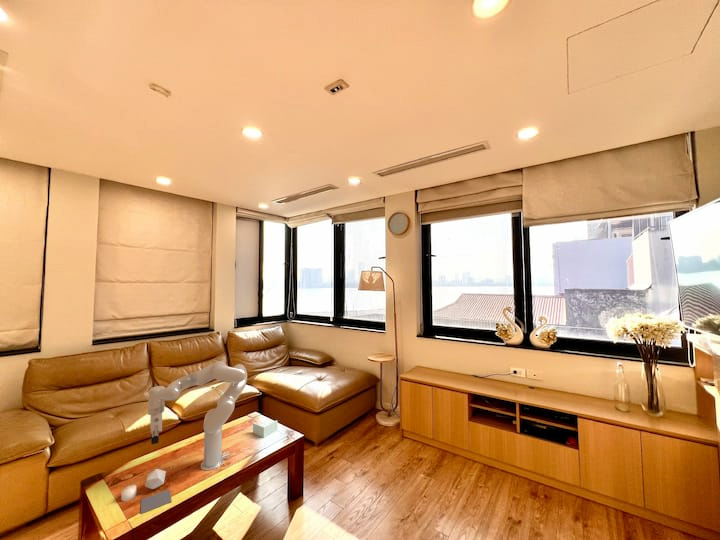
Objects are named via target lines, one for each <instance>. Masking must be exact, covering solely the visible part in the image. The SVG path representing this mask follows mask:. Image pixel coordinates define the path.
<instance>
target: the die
mask: <svg viewBox="0 0 720 540" xmlns="http://www.w3.org/2000/svg"><path fill="white" fill-rule="evenodd" d="M166 473H167V471H166V470H163V469H159V468H155V469H154V470H152V471H150V472H149V473H147V477H146V480H145V485H144V487H146V488H148V489H150V490H155V489H158V488H159V487H161V486H162V485H164V483H165V479H166Z"/></svg>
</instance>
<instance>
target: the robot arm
mask: <svg viewBox="0 0 720 540" xmlns="http://www.w3.org/2000/svg"><path fill="white" fill-rule="evenodd" d="M214 379H215V380H218V381H221V382H222V381H223V382H227V383H230V384H229V386H228V387H227V389H226V390H225V391H224V393H223V394H222V395H221V396H220V397H219V398H218V400H217V406H216V407H215V408H211V409H210V410H208V411H207V413H206V414H205V416H204V421H203V430H204V432H203V433H204V434H203V461H202V462H201V463H200V469H201V470H202V471H214V470H216V469H218V468H220V467H221V466H222V465H223V464H224V463H225V458H228V457H230V456H231V452H228V451H225V452H223V450H222V449H223V448H222V447H223V444H222V443H223V442H222V441H223V438H222V437H223V426H224V425H225V423H226V422H227V420H228V419H229V418H230V417H231V415H232V414H233V412H234V410H235V405H236V404H235V403H236V401H237V400H238V399H239V397H240V396H241V393H242V392H243V391H244V389H245V388H246V385H247V382H248V371H247V368H246V367H245V365H243V364H241V363H238V364H235V365H234V366H233V367H232V366H228V365H227V364H226V362H225V361H222V360H218V361H216V362H215V361H214V363H211V364H210V365H207V366H205V367H204V368H201V369H199V370H197V371H195V372H192V373H189V374H186V375H184V376H182V377H179V378H177V379H176V380H173V381H171V383H169V384H168V386H167V387H165V386H164V385H157V386H153V387H150V389H149V390H148V400H147V401H148V404H147V405H148V406H147V410H148V411H147V415H149V416H150V418H149V419H150V420H149V421H150V423H149V424H150V426H149V427H150V433H151V441H150V442H151V443H150V444H151V445H155V444H159V443H160V442H159V441H160V439H159V432H160V433H161V432H162V431H163V413H164V412H165V401H174V400H176V399H178V398H179V396H180V394H181V392H183V391H184V390H186V389H188V388H191V387H193V386H194V387H195V386H203V385H206V384H207V383H209V382H210V381H213V380H214Z"/></svg>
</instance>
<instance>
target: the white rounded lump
mask: <svg viewBox="0 0 720 540" xmlns="http://www.w3.org/2000/svg"><path fill="white" fill-rule="evenodd" d="M120 496H121V497H120V501H122V502H128V501H131V500H132V499H134V498H135V497H136V496H137V485H136V484H131V485H127V486H126V487H124V488H123V489H121V491H120Z"/></svg>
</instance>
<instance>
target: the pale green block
mask: <svg viewBox="0 0 720 540" xmlns="http://www.w3.org/2000/svg"><path fill="white" fill-rule="evenodd" d="M252 425H253V426H252V434H254V435H256V436H259V437H260V438H263V439H266V438H267V437H268V436H270V435H272V434H274V433H276V432H278V420H274V421H272V422H271V423H269V424H267V425H265V426H263V425H261V424H259V423H256V422H253V423H252Z"/></svg>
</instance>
